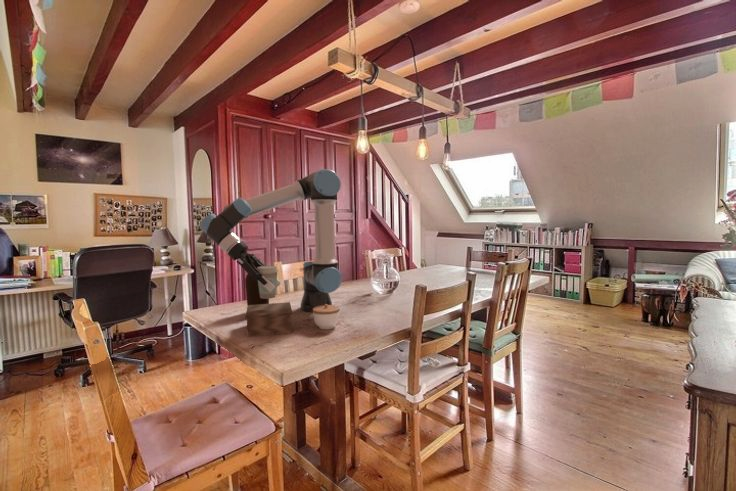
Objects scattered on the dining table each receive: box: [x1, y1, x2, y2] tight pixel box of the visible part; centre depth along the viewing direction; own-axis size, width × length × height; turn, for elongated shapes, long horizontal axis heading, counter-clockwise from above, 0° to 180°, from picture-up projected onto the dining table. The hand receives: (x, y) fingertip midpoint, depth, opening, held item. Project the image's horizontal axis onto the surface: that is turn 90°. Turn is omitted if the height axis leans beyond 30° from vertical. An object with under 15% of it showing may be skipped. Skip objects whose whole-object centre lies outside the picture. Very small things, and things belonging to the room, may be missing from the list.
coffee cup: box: [257, 265, 279, 300], centre depth 141 cm, size 8×8×12 cm
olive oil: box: [244, 258, 270, 307], centre depth 165 cm, size 11×11×25 cm
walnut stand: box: [244, 301, 293, 338], centre depth 142 cm, size 17×17×8 cm
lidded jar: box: [312, 304, 341, 330], centre depth 143 cm, size 11×11×9 cm
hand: (276, 287), depth 141 cm, fingers closed on coffee cup, 8 cm apart
